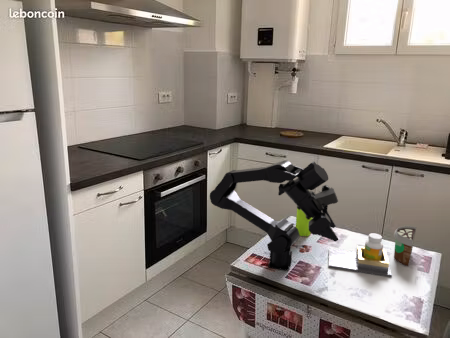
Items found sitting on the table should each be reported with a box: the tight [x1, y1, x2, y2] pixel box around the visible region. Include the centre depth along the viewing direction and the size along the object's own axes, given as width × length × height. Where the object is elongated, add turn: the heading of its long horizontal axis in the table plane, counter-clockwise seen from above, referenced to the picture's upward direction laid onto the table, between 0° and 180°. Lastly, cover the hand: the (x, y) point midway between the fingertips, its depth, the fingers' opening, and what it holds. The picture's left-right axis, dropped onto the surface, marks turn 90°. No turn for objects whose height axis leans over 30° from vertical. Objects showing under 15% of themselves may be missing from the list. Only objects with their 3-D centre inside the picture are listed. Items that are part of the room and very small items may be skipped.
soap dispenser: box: [295, 189, 313, 237], centre depth 143 cm, size 6×7×20 cm
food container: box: [393, 225, 417, 267], centre depth 128 cm, size 12×6×10 cm, turn 149°
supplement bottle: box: [363, 232, 384, 261], centre depth 123 cm, size 5×5×10 cm
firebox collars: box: [328, 245, 393, 278], centre depth 125 cm, size 19×12×4 cm, turn 74°
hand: (335, 233), depth 116 cm, fingers open, 9 cm apart
